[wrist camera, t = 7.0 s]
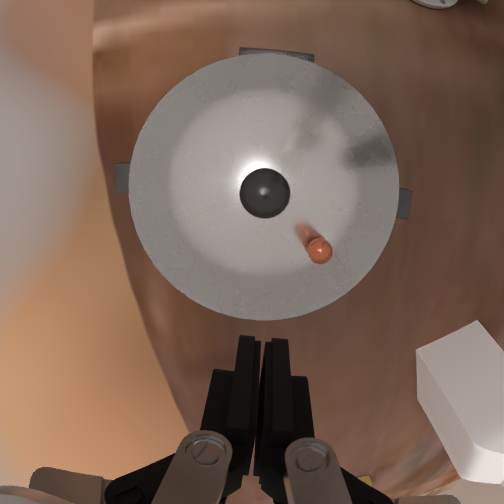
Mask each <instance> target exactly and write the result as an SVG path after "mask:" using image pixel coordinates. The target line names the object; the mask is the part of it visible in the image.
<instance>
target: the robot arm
mask: <svg viewBox="0 0 504 504" xmlns="http://www.w3.org/2000/svg"><path fill="white" fill-rule="evenodd" d="M412 1H414V2H416V3H418V4H421V5H423V6H426V7H429V8H434V9H445V8H449V7H451V6H452V5H454V4H455V3H456V2H457V1H458V0H412ZM477 1H479V2H481V3H482V4H486V3H487V2H488V0H477ZM260 351H261V341H255V336H244V335H240V336H239V343H238V350H237V357H236V364H235V371H227V370H219V369H214V370H213V374H212V378H211V383H210V387H209V392H208V396H207V401H206V405H205V410H204V414H203V419H202V423H201V428H200V431H195V432H192V433H190V434H188V435H187V436H186V437H184V439H183V440H182V441H181V443H180V445H179V447H178V449H177V451H176V453H174V454H172V455H170V456H168V457H166V458H164V459H161V460H159V461H157V462H155V463H152V464H150V465H148V466H146V467H143V468H141V469H139V470H136V471H134V472H131V473H129V474H126V475H124V476H121V477H119V478H116V479H115V480H106V479H103V477H100V476H94V475H87V474H81V473H76V472H70V471H65V470H61V469H56V468H51V467H42V468H38V469H37V470H36V471H35V472H33V474H32V476H31V479H30V484H29V488H25V487H18V486H0V504H227V501H228V498H229V495H230V494H232V493H233V492H235V491H236V490H238V489H239V488H241V483H242V477H243V475H248V474H249V469H250V464H251V458H252V453H253V447H254V442H255V454H254V472H253V476H259V484H261V489H262V490H263V491H264V492H265V493H266V494H268V495H269V496H270V504H461V503H460V501H459V500H458V499H457V498H456V497H454V496H452V495H434V496H399V497H398V498H397V499H395V498H389V497H388V496H386V495H385V494H383V493H381V492H380V491H378V490H376V489H374V488H373V487H371V486H369V485H368V484H366V483H365V482H363V481H361V480H360V479H358V478H357V477H355V476H354V475H352V474H350V473H349V472H347V471H346V470H344V469H343V468H341V467H340V466H339V463H338V460H337V457H336V454H335V452H334V450H333V448H332V447H331V446H330V445H329V444H328V443H326V442H324V441H322V440H321V439H316V438H315V436H314V427H313V419H312V410H311V402H310V394H309V387H308V380H307V377H305V376H291V372H290V359H289V346H288V339H279V338H272V341H271V342H266V343H265V349H264V356H263V363H262V370H261V377H260V384H259V373H260ZM255 436H256V437H255Z"/></svg>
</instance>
